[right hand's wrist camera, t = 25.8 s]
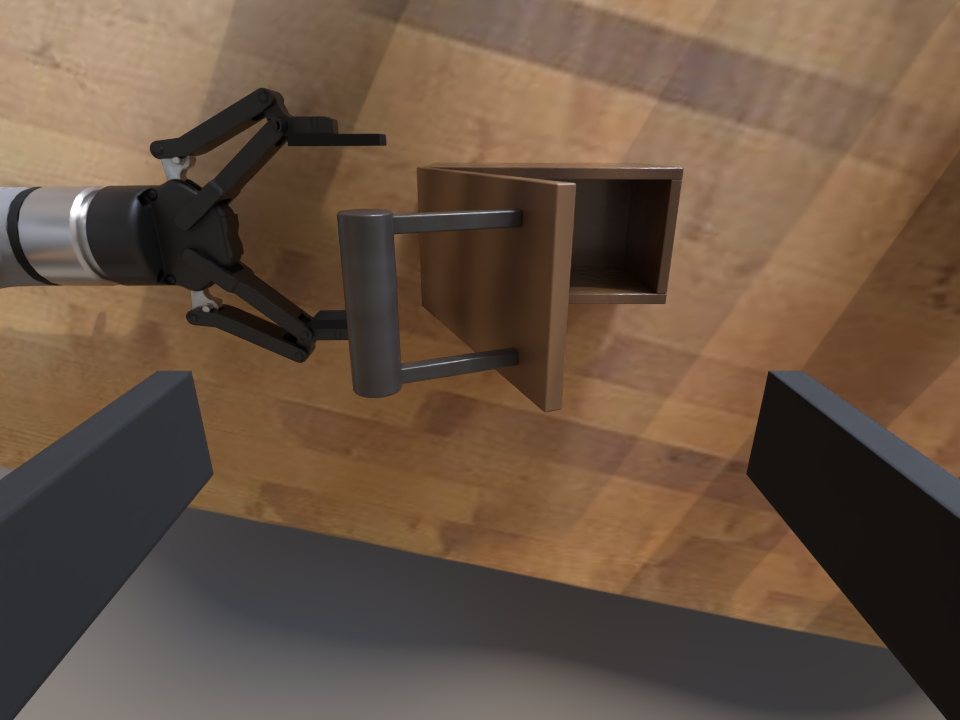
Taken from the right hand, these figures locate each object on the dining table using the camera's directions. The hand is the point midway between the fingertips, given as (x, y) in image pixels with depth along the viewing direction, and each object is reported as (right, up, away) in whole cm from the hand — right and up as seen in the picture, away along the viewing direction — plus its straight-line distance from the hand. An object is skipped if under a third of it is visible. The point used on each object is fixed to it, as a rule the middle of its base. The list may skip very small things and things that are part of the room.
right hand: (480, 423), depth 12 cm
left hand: (-7, +11, +29) cm, 32 cm away
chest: (+5, +14, +35) cm, 38 cm away
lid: (0, +7, +17) cm, 18 cm away
